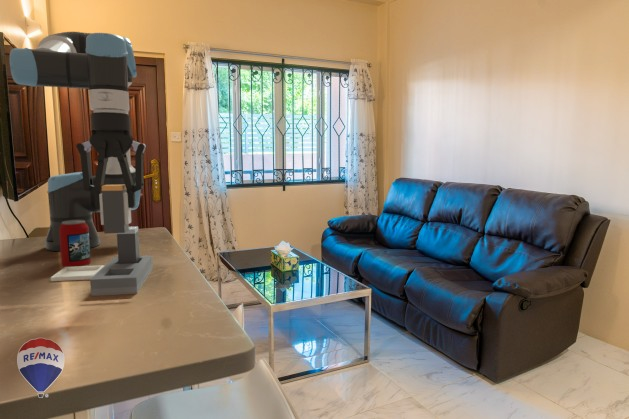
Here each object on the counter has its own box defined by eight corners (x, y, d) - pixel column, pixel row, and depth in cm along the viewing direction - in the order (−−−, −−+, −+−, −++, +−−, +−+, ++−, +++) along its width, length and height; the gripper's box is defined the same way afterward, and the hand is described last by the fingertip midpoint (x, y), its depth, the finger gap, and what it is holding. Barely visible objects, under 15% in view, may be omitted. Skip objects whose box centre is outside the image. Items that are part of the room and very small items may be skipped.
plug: (109, 230, 96) (106, 184, 95) (128, 229, 97) (126, 184, 96) (104, 233, 92) (101, 185, 91) (124, 232, 93) (122, 185, 92)
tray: (65, 272, 110) (65, 266, 110) (104, 271, 112) (104, 265, 111) (50, 283, 101) (50, 277, 101) (94, 281, 103) (93, 275, 102)
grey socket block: (115, 272, 111) (114, 256, 110) (153, 270, 112) (152, 255, 112) (91, 298, 91) (90, 279, 91) (137, 295, 93) (136, 277, 92)
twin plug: (122, 267, 108) (120, 226, 106) (140, 266, 109) (138, 226, 107) (118, 271, 104) (116, 229, 103) (136, 270, 105) (134, 229, 103)
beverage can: (78, 270, 112) (75, 223, 111) (55, 268, 114) (52, 222, 112) (96, 263, 119) (93, 219, 117) (74, 262, 120) (71, 218, 118)
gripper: (58, 110, 86) (67, 227, 89) (150, 111, 90) (155, 225, 92) (72, 113, 94) (79, 222, 97) (156, 114, 97) (160, 219, 100)
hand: (116, 223), depth 95 cm, fingers closed on plug, 4 cm apart
